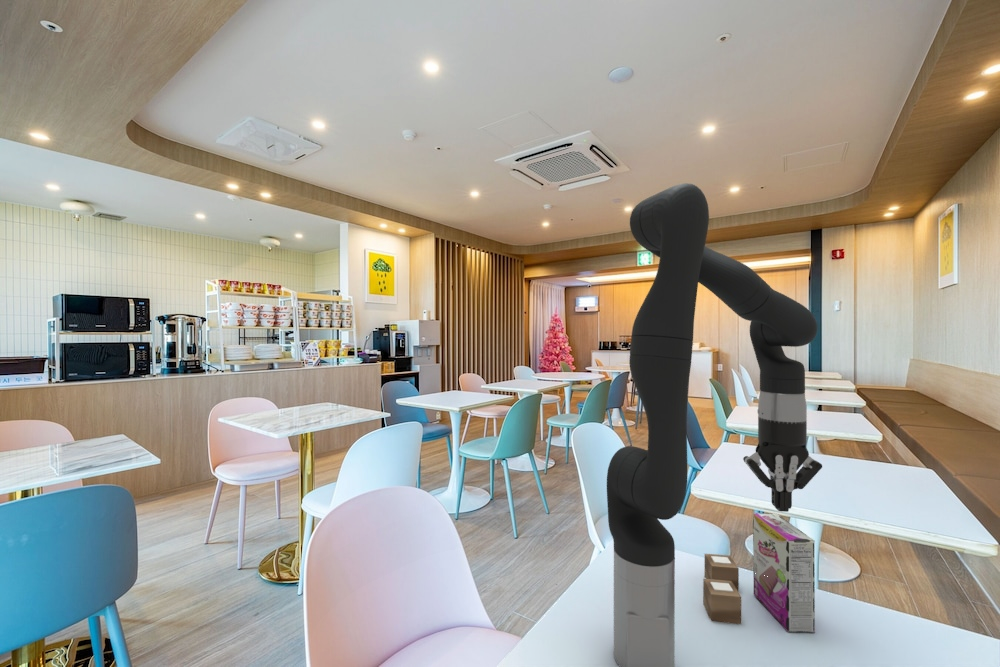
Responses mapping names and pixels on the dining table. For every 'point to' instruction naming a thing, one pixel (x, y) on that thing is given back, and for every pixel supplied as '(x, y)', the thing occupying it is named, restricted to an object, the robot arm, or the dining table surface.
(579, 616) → the dining table surface
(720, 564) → the marked block far
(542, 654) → the dining table surface
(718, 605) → the marked block near
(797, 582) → the candy bar box
